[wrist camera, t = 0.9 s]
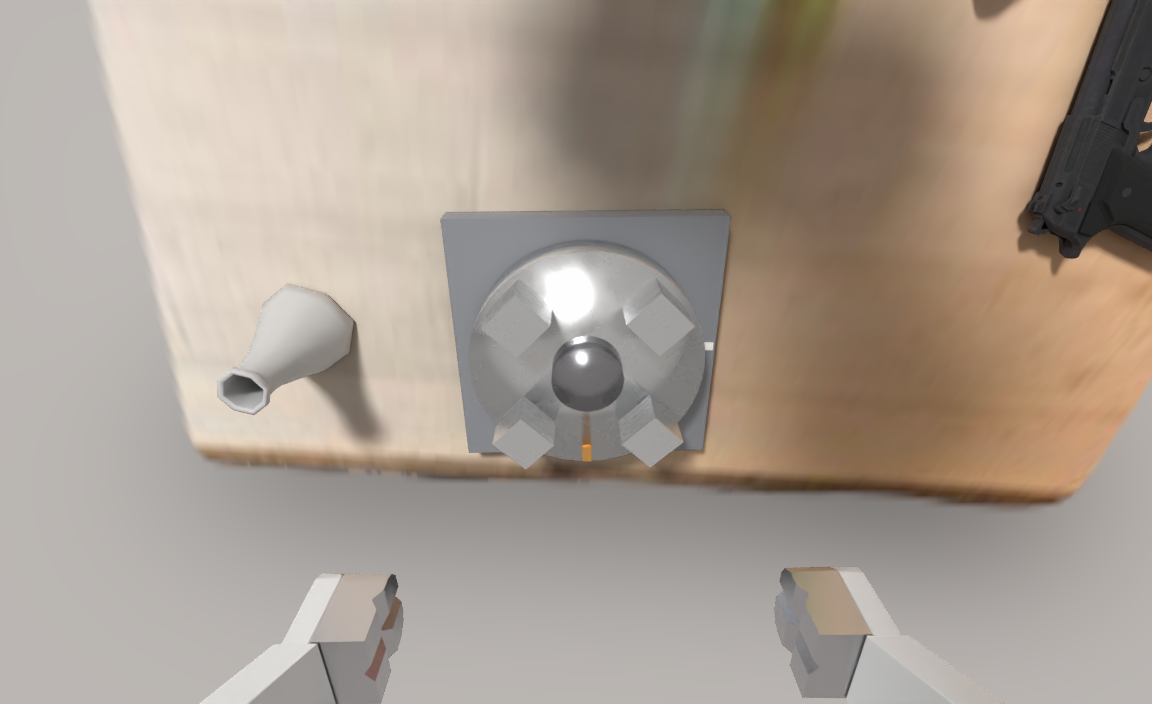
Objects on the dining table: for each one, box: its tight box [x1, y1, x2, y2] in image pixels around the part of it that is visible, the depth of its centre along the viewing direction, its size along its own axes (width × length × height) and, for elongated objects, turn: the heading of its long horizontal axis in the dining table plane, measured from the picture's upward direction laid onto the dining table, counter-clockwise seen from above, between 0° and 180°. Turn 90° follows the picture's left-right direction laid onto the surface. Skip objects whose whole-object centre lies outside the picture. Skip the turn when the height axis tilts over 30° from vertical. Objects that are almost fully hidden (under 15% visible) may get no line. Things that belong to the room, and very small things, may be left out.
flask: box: [217, 284, 354, 415], centre depth 39 cm, size 7×7×10 cm
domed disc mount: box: [468, 240, 705, 469], centre depth 40 cm, size 17×17×6 cm
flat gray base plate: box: [441, 209, 731, 453], centre depth 43 cm, size 20×20×2 cm
